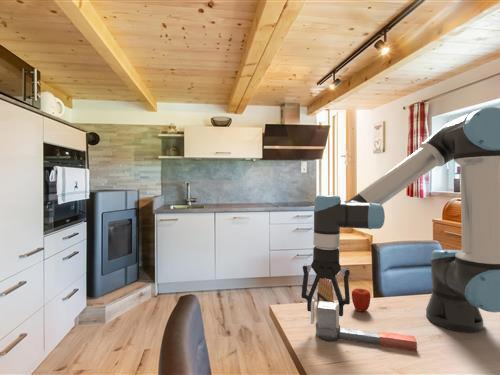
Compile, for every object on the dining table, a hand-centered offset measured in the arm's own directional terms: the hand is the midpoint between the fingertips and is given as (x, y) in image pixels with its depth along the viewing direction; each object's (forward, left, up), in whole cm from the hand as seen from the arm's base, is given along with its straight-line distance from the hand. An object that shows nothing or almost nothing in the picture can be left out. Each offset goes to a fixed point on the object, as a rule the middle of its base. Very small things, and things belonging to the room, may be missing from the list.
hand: (324, 323), depth 85 cm
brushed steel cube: (-1, 0, 0) cm, 1 cm away
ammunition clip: (+1, -17, -4) cm, 18 cm away
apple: (-11, -21, -3) cm, 24 cm away
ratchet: (-11, 0, -3) cm, 11 cm away
